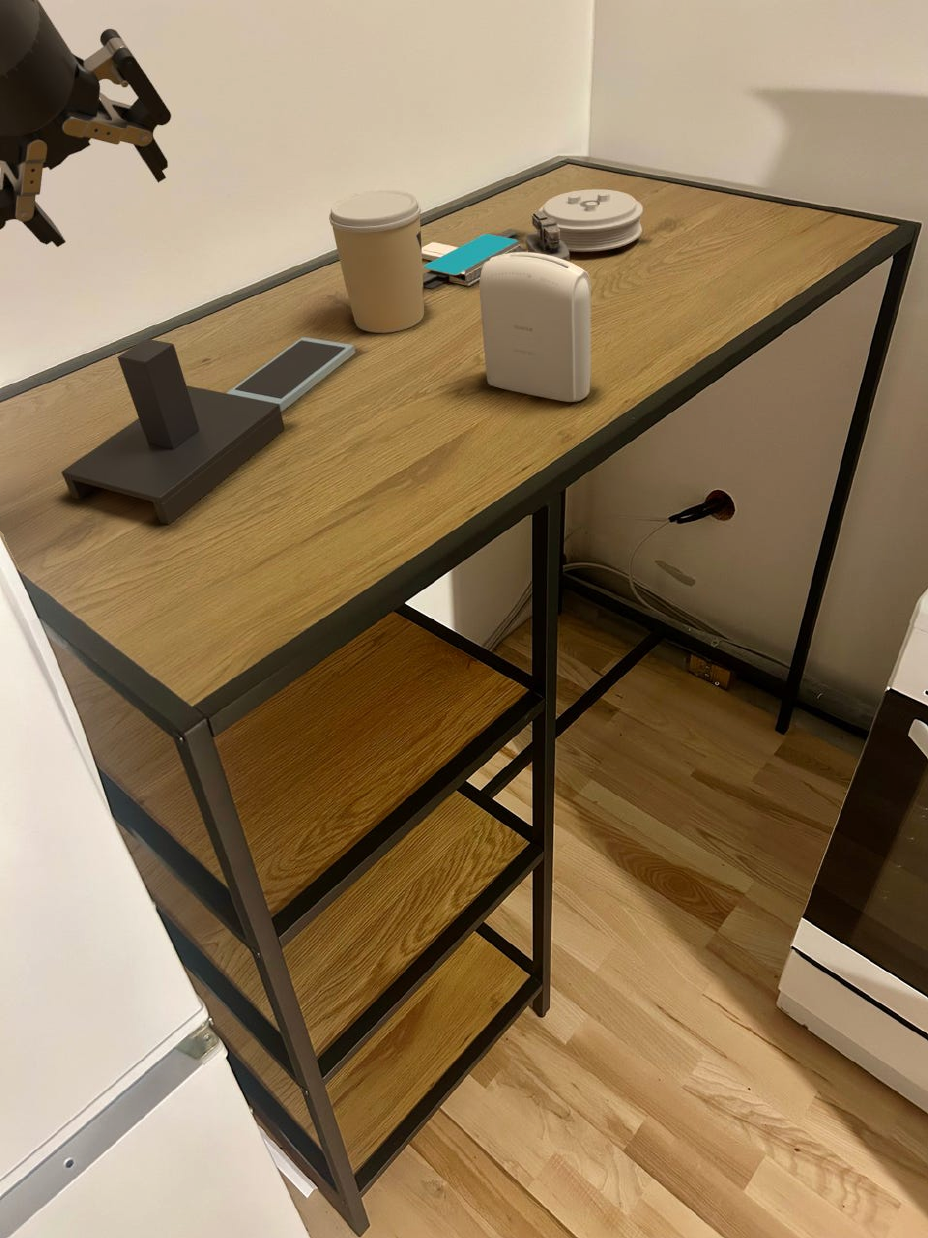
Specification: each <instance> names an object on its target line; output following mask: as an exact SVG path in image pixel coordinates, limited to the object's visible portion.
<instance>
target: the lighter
mask: <svg viewBox="0 0 928 1238" xmlns="http://www.w3.org/2000/svg"><path fill="white" fill-rule="evenodd" d="M531 225H532V226H533V227H534V229H536V230H537V231H533V232H529V233H527V234H526V236H525V244H526V248H527V250H528V252H530V253H539V254H545V255H549V256H553V257H557V258H560V259H563V260H565V261H568V262H570V251H568V248H567V246H566V245H565V244H564V242H563V241H561V240H560V229H559V228H558V226H557V222H556V219H555V218H551V219H549V218H548V217H547V216H546V215H545V214H544V213H543V212H542V211H538V210H535V211H533V213H532V214H531Z"/></svg>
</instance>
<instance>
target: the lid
mask: <svg viewBox="0 0 928 1238" xmlns="http://www.w3.org/2000/svg"><path fill="white" fill-rule="evenodd" d="M537 211H542V212H543V213H544V214H545V215H546V216H547V217H548V218H549V219H551V218H555V219H556V222H557V226H558V228H559V229H560V240H561V241H563V242H564V244H565V245H566V246H567V248H568V251H569V252H581V253H584V252H585V253H586V252H599V251H600V252H601V251H607V250H613V249H616V248H621V247H623V246H626V245H628V244H631V243H632V242H635V241H636V240H637V239H639V237H640V236H641V235H642V231H643V228H642V225H641V217H642V215H643V211H644V207H643V205H642V204H641V202H639V201H637V200H636V199H635V197H634V196H632V195H631V194H629V193H626V192H623V191H619V190H612V189H601V188H600V189H599V188H597V189H596V188H595V189H593V188H592V189H581V190H573V191H568V192H565V193H561V194H558V195H556V196H553V197H551V198H549V199H548V200H547V201H546V202H545V203H544V204H543V205H542V206H540V208H539V209H538V210H537Z"/></svg>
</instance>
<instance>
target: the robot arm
mask: <svg viewBox="0 0 928 1238" xmlns="http://www.w3.org/2000/svg"><path fill="white" fill-rule="evenodd" d="M99 41H100V43H101V45H102V47H101V48H100V49H98V50H97V51H95V52H94V53H93V54H91V55H90V56H88V57H87V58H85V59H83V58H81V57H80V56H77V55H75V54H74V53H73V52H72V51H71V49H70V47H69V46H68V44H67V43H66V41H65V40H64V38H63V37H62V35H61V34H60V32H59V30H58V29H57V27H56V26H55V24H54V23H53V21H52V19H51V17H50V16H49V15H48V13H47V12H46V9H44V6H42V3H41V2H40V0H0V230H3V228H5V226H6V224H7V222H8V221H12V220H13V221H14V220H16V221H19V222H21V223H22V224H23V225H24V226H25V227H26V228H27V229H28V230H29V231H30V232H31V233H32V235H33V236H34V237H36V239H37V240H38V241H39V242H40V243H41V244H44V245H49V244H50V243H53V245H54V246H55V247H57V248H60V247H61V246H62V245H64V244H65V243H66V240H65V237H64V236H63V235H62V233H61V232H60V230H59V229H58V227H57V225H56V224H55V222H54V221H53V220H52V218H51V217H50V216H49V215H48V214H47V213H46V212H45V210H43V208H42V207H41V206H40V205H39V203H38V202H37V201H36V197H37V196H39V195H40V194H41V190H42V189H41V188H42V181H43V180H42V179H43V171H44V169H46V168H48V169H49V170H50V171H52V170H53V169H55V168H57V167H58V166H60V165H61V164H62V163H63V162H64V161H65V160H66V159H67V158H68V157H69V156H71V155H74V154H76V153H77V154H78V153H79V152H82V151H83V150H86V148H88V147H90V146H91V143H90V141H91V140H92V139H93V140H95V141H101V142H103V143H108V144H112V145H113V144H114V145H117V146H118V145H119V144H120V142H122V143H125V144H126V143H127V144H130V145H132V146H134V149H135V150H136V152H137V153H138V154H139V156H140V158H141V159H142V160H143V162H144V164H145V165H146V167H147V168H148V170H149V171H150V173H151V174H152V176H153V177H154V179H155V180H156V182H157V183H158V184H159V183H160V182H162V181H164V180H165V179H166V178H167V176H166V175H165V173H164V171H165V170H166V169H167V168H168V167H169V162H168V159H167V158H166V156H165V154H164V153H163V150H162V149H161V148H160V146H159V144H158V143H157V141H156V139H155V137H154V132H155V129H156V128H157V127H158V126H165V125H167V124H168V123H170V121H171V120H172V113H171V111H170V109H169V108H168V107H167V105H166V104H165V102H164V100H163V99H162V97H161V96H160V94H159V93H158V91H157V90H156V88H155V86H154V84H152V82H151V80H150V79H149V77H148V76H147V74H146V73H145V71H144V69H143V68H142V67H141V65H140V63H139V62H138V60H137V59H136V57H135V56H134V54H133V53H132V52H131V49H129V47H128V45H127V44H126V43H125V41H124V40H123V39H122V37H121V35H120V34H119V33H118V31H117V30H116V29H113V28H106V29H105V30H103V32H102V33H101V34H100V37H99ZM102 80H109V81H111V83H112V84H114V85H119V86H121V87H122V88H127V87H129V86H130V89H132V91H133V92H134V94H135V95H136V97H137V98H136V100H135V101H133V103H132V105H130V104H127V103H124V102H120V101H116V100H113V99H110V98H108V97H107V96H106V95H105V94H104V93H102V92H101V83H100V81H102Z"/></svg>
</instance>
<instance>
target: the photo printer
mask: <svg viewBox="0 0 928 1238" xmlns="http://www.w3.org/2000/svg"><path fill="white" fill-rule="evenodd" d="M591 285H592V283H591V278H590V275H589V273H588V272H587V271H586V270H585V269H583V268H582V267H580V266H578V265H576V264H574V263H573V262H570V261H569V262H568V261H565V260H563V259H560V258H557V257H553V256H549V255H545V254H539V253H530V252H515V253H507V254H502V255H498V256H495V257H492V258H491V259H490V260H489V261H487V262H485V263H484V265H483V268H482V271H481V275H480V281H479V286H478V287H479V288H478V290H479V301H480V314H481V326H482V327H481V328H482V337H483V351H484V362H485V363H484V364H485V375H486V381H487V383H488V384H489V385H490V386H492V387H494V388H499V389H504V390H507V391H511V392H516V393H520V394H526V395H531V396H535V397H540V398H544V399H550V400H555V401H561V402H567V403H572V402H573V403H577V402H580V401H583V400H584V399H585V398H587V397H588V396H589V394H590V391H591V383H592V286H591Z"/></svg>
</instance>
